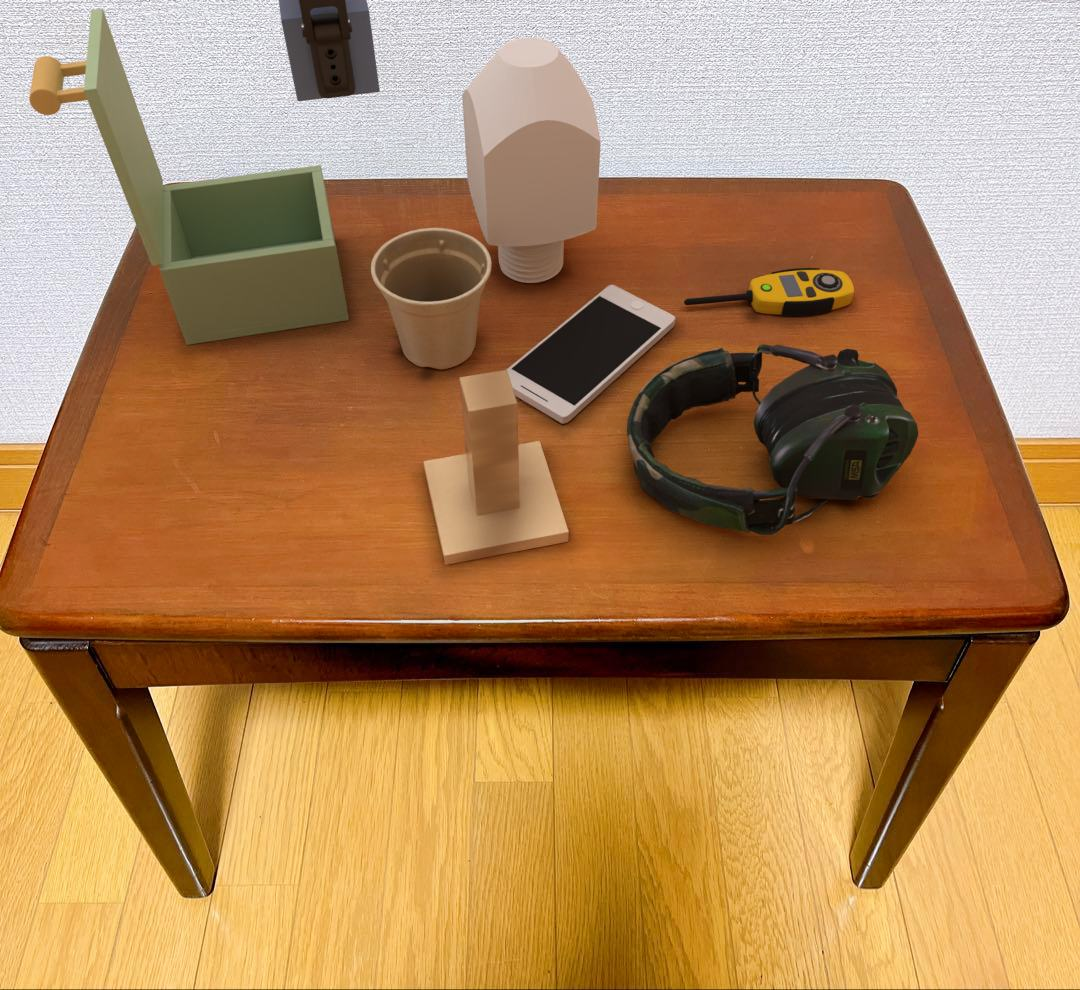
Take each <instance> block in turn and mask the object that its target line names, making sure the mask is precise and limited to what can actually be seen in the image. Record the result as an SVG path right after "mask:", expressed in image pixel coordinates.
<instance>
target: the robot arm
mask: <svg viewBox="0 0 1080 990" xmlns="http://www.w3.org/2000/svg"><path fill="white" fill-rule="evenodd" d="M299 4H300V9H301V14H302V20H303V23H301V24H302V27H301V28H302V34H303V37H306V40H307V44H310V48H311V54H312V59H313V64H314V70H315V75H316V81H317V86H318V92H319V94H320V96H322V97H323V99H334V98H335V99H336V98H345V97H351V96H353V95H352V94H353V93H354V92H355V82H354V75H353V69H352V62H351V55H350V49H349V42H348V40H349V39H351V37H350V32H352V26H351V22H350V19H349V18H348V16H347V9H346V2H345V0H299ZM330 6H334V7H336V8H337V13H338V15H337V13H329V14H319V15H312V17H311V13H310V11H311V10H312V9H313V8H320V7H330Z"/></svg>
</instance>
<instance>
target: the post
mask: <svg viewBox="0 0 1080 990" xmlns="http://www.w3.org/2000/svg"><path fill="white" fill-rule="evenodd" d="M459 389H460V399H461V401H460V403H461V411H462V412H461V413H462V423H463V434H464V447H465V448H464V449H465V453H462V454H457V455H451V456H450V455H449V456H446V457H440V458H433V459H428V460H423V470H424V474H425V479H426V484H427V487H428V493H429V498H430V503H431V507H432V512H433V516H434V521H435V525H436V526H435V527H436V530H437V534H438V539H439V544H440V548H441V553H442V557H443V563H444V565H445V566H448V565H452V564H459V563H463V562H468V561H474V560H480V559H485V558H490V557H494V556H495V557H496V556H499V555H505V554H510V553H515V552H520V551H526V550H532V549H536V548H537V549H538V548H541V547H547V546H553V545H558V544H562V543H563V544H564V543H568V542H569V535H570V534H569V533H570V532H569V528H568V524H567V522H566V519H565V515H564V512H563V509H562V506H561V503H560V499H559V497H558V493H557V491H556V487H555V484H554V480H553V478H552V474H551V472H550V468H549V465H548V462H547V459H546V455H545V453H544V450H543V447H542V444H541V441H540V440H536V441H530V442H525V443H519V427H518V426H519V419H518V417H519V416H518V400H517V396H515V394H514V391H513V388H512V384H511V381H510V378H509V375H508V372H507V369H503V370H495V371H491V372H484V373H478V374H472V375H471V374H470V375H466V376H460V377H459Z"/></svg>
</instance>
